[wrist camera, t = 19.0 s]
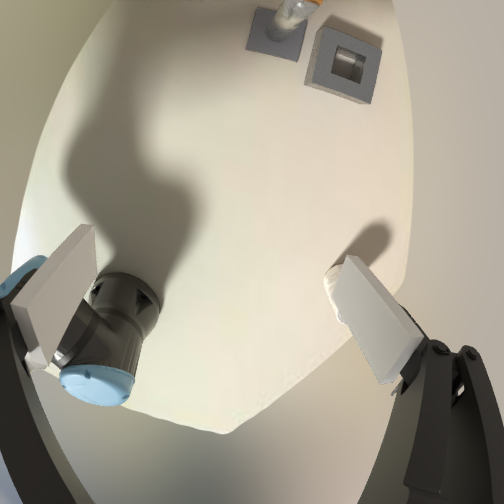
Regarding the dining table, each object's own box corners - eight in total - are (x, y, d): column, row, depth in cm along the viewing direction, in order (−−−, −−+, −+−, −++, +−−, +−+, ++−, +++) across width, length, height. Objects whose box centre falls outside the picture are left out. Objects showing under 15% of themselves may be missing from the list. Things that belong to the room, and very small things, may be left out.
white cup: (337, 254, 53) (357, 283, 44) (363, 270, 56) (384, 299, 47) (312, 284, 56) (327, 317, 47) (339, 298, 59) (356, 329, 50)
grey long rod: (264, 39, 34) (287, 1, 19) (268, 21, 32) (294, -22, 17) (285, 44, 34) (320, 11, 19) (290, 27, 33) (326, -12, 18)
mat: (245, 49, 35) (246, 48, 34) (256, 8, 31) (257, 7, 31) (296, 61, 36) (297, 61, 36) (306, 21, 33) (307, 20, 32)
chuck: (303, 84, 38) (311, 82, 35) (316, 32, 34) (324, 26, 30) (359, 103, 40) (370, 104, 36) (370, 53, 36) (382, 50, 32)
